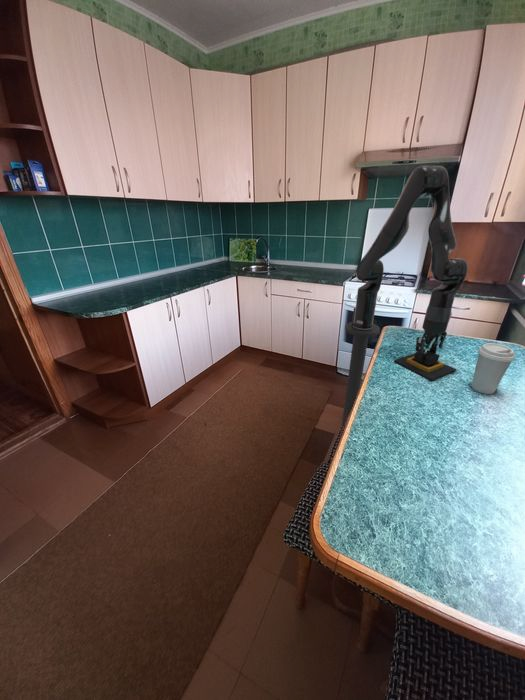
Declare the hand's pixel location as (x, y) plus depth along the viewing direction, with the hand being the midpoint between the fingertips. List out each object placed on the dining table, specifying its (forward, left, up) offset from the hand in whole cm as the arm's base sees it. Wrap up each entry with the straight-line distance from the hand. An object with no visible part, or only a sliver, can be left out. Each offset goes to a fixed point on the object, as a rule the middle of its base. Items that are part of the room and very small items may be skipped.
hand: (425, 359), depth 110 cm
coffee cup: (+19, +4, -3) cm, 20 cm away
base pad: (0, 0, -3) cm, 3 cm away
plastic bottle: (-10, +21, -3) cm, 24 cm away
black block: (0, 0, 0) cm, 0 cm away
